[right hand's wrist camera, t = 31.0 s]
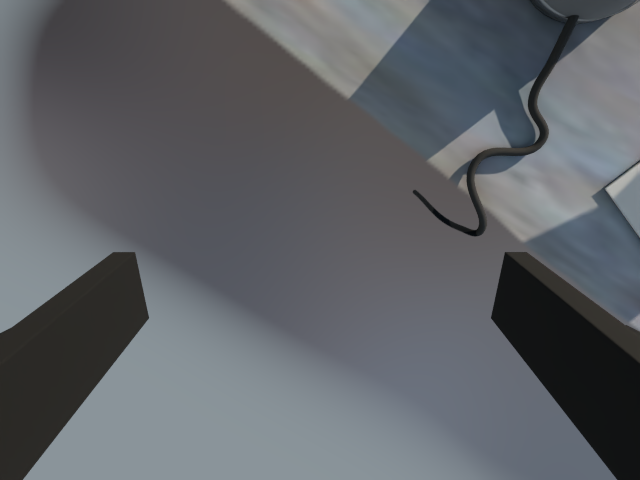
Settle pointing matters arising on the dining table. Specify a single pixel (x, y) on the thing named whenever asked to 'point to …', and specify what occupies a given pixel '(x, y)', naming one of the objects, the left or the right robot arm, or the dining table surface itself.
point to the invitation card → (628, 196)
